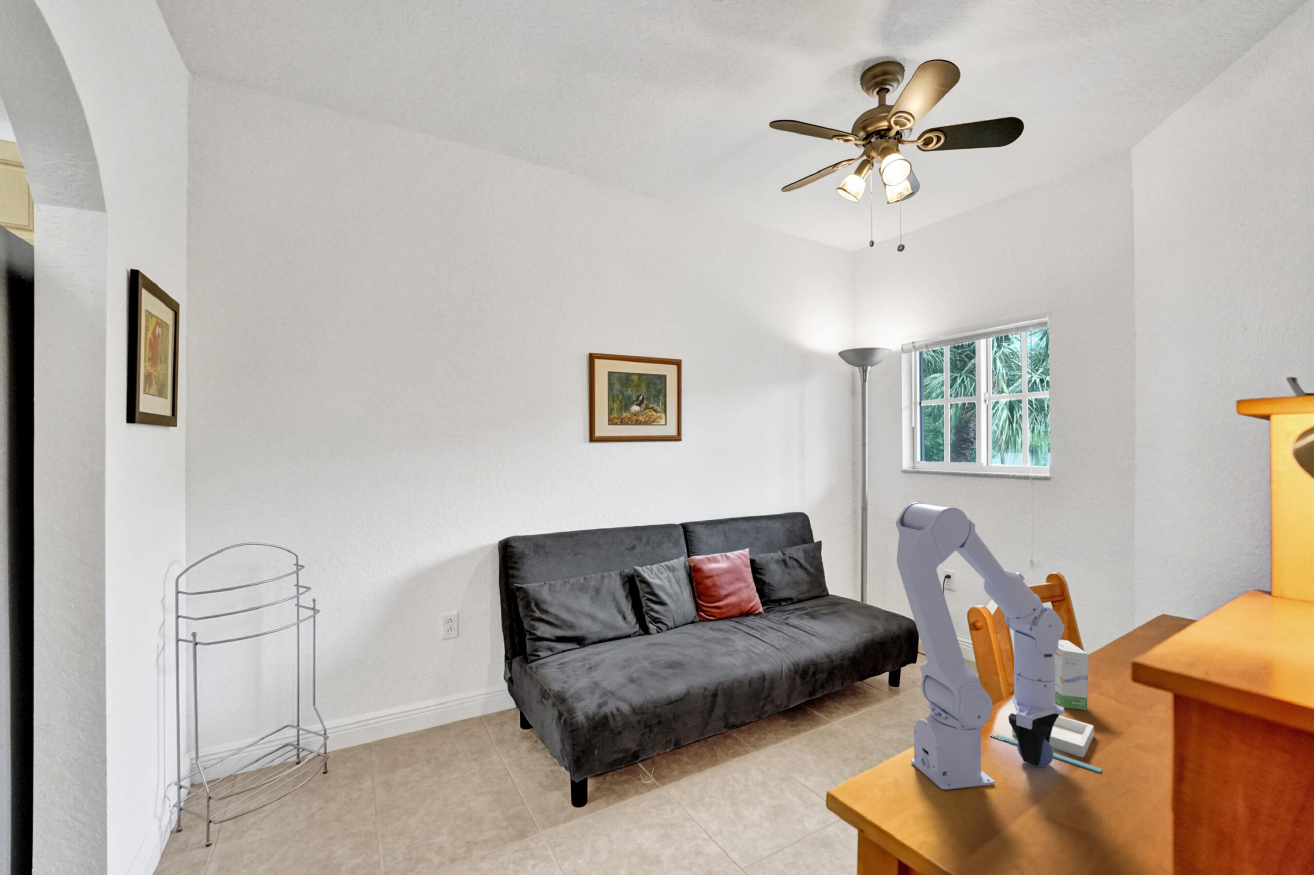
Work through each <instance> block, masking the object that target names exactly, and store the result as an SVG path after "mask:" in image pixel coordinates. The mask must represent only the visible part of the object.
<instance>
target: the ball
mask: <svg viewBox="0 0 1314 875" xmlns="http://www.w3.org/2000/svg"><path fill="white" fill-rule="evenodd" d="M1016 746H1017V751H1018V754H1019V755H1020V757H1021V758H1022V755H1021V751H1020V747H1019V743H1017V745H1016ZM1053 753H1054V751H1053V748H1051V746H1050V744H1049V743H1048V742H1047V740H1044V743H1043V747H1042V754H1041V759H1040V762H1039V765H1038V766H1036V765H1033V764H1030V763H1027V764H1028V765H1030V766H1033V767H1034V768H1035V767H1036V768H1045V767H1047V766H1048V765H1050V764H1051V763H1052V761H1053Z"/></svg>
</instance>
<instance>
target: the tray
mask: <svg viewBox="0 0 1314 875" xmlns="http://www.w3.org/2000/svg"><path fill="white" fill-rule="evenodd" d="M1094 726H1095V725H1094V724H1093V725H1092V724H1090V723H1087V722H1083V721H1079V720H1076V719H1072V718H1069V717H1066V716H1063V715H1059V716H1058V718H1057V719H1056V721H1055V723H1054V726H1053V728H1052V732H1051V736H1050V741H1049V744H1050V746H1051V748H1052V749H1054V750H1057V751H1060V752H1064V753H1066V754H1069V755H1073V756H1076V757H1078V758H1082V759H1084V758H1085V756H1086V754H1087V752H1088V749H1089V747H1090V746H1091V743H1092V741H1093V739H1094V737H1095V734H1094V733H1095V731H1094V730H1095V729H1094V728H1095V727H1094ZM1012 734H1013V735H1012ZM1011 735H1012V736H1014V735H1015V736H1014V737H1016V734H1015V732H1014V730H1013V728H1012V727H1011Z"/></svg>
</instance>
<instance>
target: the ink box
mask: <svg viewBox="0 0 1314 875" xmlns="http://www.w3.org/2000/svg"><path fill="white" fill-rule="evenodd" d="M1088 688H1089V653H1087V652H1086V651H1084V650H1083V649H1081V648H1080V647H1079V646H1077V645H1076V644H1074V643H1072V642H1071V641H1070V640H1066V639H1059V642H1058V650H1057V652H1056V653H1055V703H1056V705H1058V706H1061V707H1063V708H1064V709H1072V710H1082V711H1088V691H1089V690H1088Z"/></svg>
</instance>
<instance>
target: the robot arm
mask: <svg viewBox="0 0 1314 875" xmlns="http://www.w3.org/2000/svg"><path fill="white" fill-rule="evenodd" d="M895 525H896V528H897V532H898V542H897V544H898V545H897V554H896V564H897V568H898V571H899V575H900V578H901V581H902V584H903V588H904V591H905V594H906V598H907V601H908V604H909V607H910V610H911V613H912V616H913V620H914V623H915V626H916V629H917V632H918V636H919V639H920V643H921V645H922V648H923V653H924V655H925V658H926V660H925V661H924V662H923V663H921V665H920V666H919V668H920V669H919V670H920V672H921V683H920V685H921V686H920V688H921V693H922V695H923V697H924V698H925V699H926V700H927V701H928V709H929V710H930V713H929V714H928V715H927V716H925V717H924V718H920V719H918V720H917V721H916V722H915V724H914V727H913V740H914V741H913V750H914V751H913V758H911V762H910V763H911V764H913V766H915V767H916V768H917V769H918V770H920V772H922V774H924V775H925V776H926V777H927V778H928V779H929V780H930V781H932V782H933V783H934V784H935V785H936V786H938V788H939V789H941V790H954V789H963V788H964V789H965V788H972V787H980V786H981V787H982V786H990V785H995V780H994V779H993V778H992V777H991V776H989V775H988V774H987V773H985V772H984V771H983V770H982V729H984V728H985V725H986V724H987V723H988V721H989V720H990V718H991V716H992V713H993V700H992V697H991V696H990V694H989V693H988V692H987V690H985V689H984V688H983V686H982V683H981V680H980V678H979V676H978V675H977V674H976V673H975V672H974V670H973V669H972V668H971V667H970V666H969V664H968V663H967V662H966V661H965V659H964V655H963V651H962V650H961V645H960V643H959V638H958V636H957V633H956V630H955V626H954V622H953V620H952V616H951V613H950V610H949V607H948V606H949V605H948V603H947V601H946V596H945V594H944V591H943V587H942V584H941V580H940V577H939V574H938V572H937V570H938V568H939V566H940V565H941V564H943V563H945V561H946V560H947V559H948V558H949V557H951V556H952V554H954V553H955V551H956V552H957V553H958V554H959V555H960V556H961V557H962V558H963V559H964V561H965V562H966V563H967V564H968V565H969V566H971V568H973V570H974V571H975V572H976V574H977V573H978V575H979V576H980V577H981V578H982V579H983V590H984V591H985V593H986V594H987V596H989V598H990V599H991V600H992V601H993V603H995V605H997V607H998V608H999V609H1000V610H1001V612H1003V614H1004V617H1003V618H1004V621H1005V625H1006V627H1008V628H1010V630H1012V631H1013V667H1014V668H1013V676H1014V677H1013V686H1014V687H1013V696H1012V702H1013V705H1014V708H1015V710H1016V713H1010V714H1009V715H1008V723H1009V725H1010V726H1011V729H1012V728H1013V730H1014V732H1015V734H1016V736H1015V737H1016V741H1018V743H1019V747H1020V751H1021V755H1022V757H1021V758H1022V761H1023V762H1024V763H1027V764H1028V763H1030V764H1033V765H1036V766H1038V765H1039V762H1040V759H1041V754H1042V747H1043V743H1044V740H1047V742H1048V743H1049V741H1050V736H1051V732H1052V728H1053V726H1054V723H1055V721H1056V719H1057V718H1058V716H1063V714H1065V708H1063V707H1061V706H1059V705H1058V704H1057V703H1056V702H1055V653H1056V652H1057V650H1058V642H1059V640H1061V638H1062V636H1063V635H1064V632H1065V624H1063V623H1062V619H1061V617H1060V616H1059V614H1058V613H1057V612H1056V611H1055V609H1052V608H1050V607H1047V606H1044V605H1043V602H1042V601H1041V597H1040V596H1039V595H1038V594H1036V593H1035V592H1033V590H1032V589H1031V588H1030V587H1029V586H1028V585H1027V584H1026V583H1025V581H1024V580H1026V578H1025V577H1024V576H1023V574H1022V573H1020V572H1018V571H1017V572H1016V571H1014V570H1013V569H1005V568H1003V566H1002V565H1001V564H1000V563H999V561H998V560H997V559H996V557H995V555H994V554H993V553H992V552H991V550H990V549H989V548H988V547H987V545H986V544H985V543H984V541H983V539H981V537H980V536H979V534H978V533H977V532H976V524H975V523H974V522H973V521H972V520H971V519H970V518H968V515H966V513H965V512H964V511H963V510H961V509H959V507H958V508H957V507H953V506H947V507H946V506H940V505H934V504H927V503H926V504H925V503H923V502H919V501H918V502H916V501H915V502H911V503H909V504H907V505H906V506H905V507H904V509H903V510H902V511H901V512H900V514H899V516H898V517H897V520H895ZM1030 764H1029V765H1030Z"/></svg>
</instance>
